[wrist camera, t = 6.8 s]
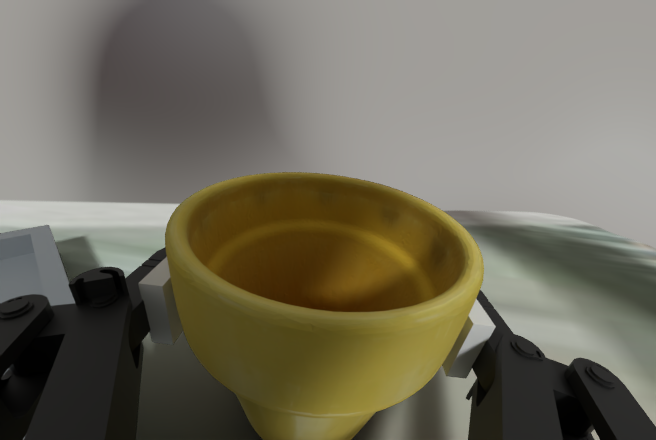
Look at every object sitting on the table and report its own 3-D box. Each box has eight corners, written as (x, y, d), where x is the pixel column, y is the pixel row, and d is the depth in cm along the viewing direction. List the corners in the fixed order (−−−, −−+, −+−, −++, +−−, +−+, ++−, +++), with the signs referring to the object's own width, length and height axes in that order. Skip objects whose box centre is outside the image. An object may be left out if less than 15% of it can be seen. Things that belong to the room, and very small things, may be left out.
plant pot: (153, 383, 12) (104, 191, 8) (302, 285, 20) (316, 161, 16) (314, 646, 7) (410, 483, 3) (434, 375, 15) (507, 222, 10)
